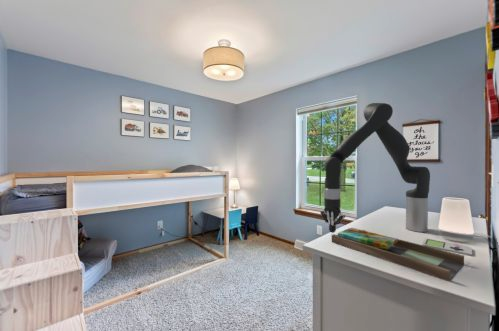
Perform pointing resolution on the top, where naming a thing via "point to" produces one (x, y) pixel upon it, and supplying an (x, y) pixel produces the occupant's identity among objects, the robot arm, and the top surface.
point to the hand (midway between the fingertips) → (332, 232)
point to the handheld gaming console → (448, 246)
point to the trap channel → (412, 256)
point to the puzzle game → (368, 238)
